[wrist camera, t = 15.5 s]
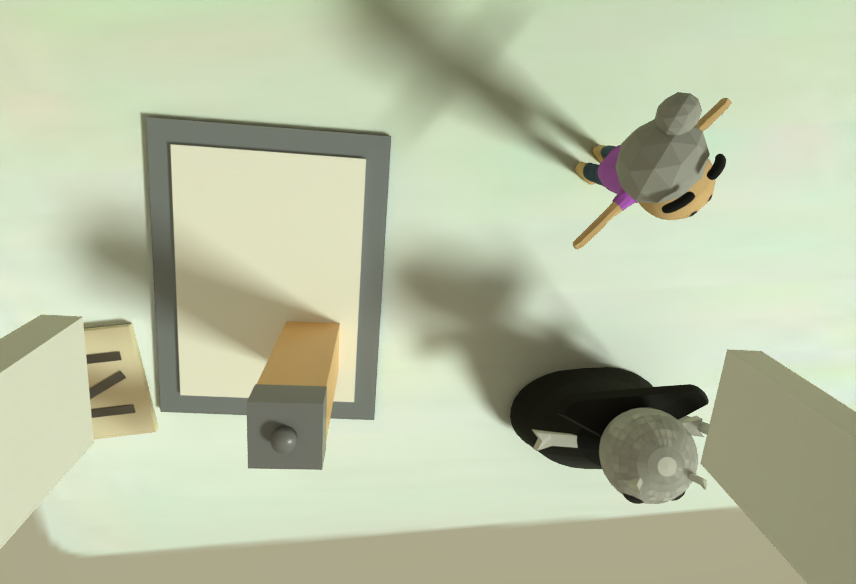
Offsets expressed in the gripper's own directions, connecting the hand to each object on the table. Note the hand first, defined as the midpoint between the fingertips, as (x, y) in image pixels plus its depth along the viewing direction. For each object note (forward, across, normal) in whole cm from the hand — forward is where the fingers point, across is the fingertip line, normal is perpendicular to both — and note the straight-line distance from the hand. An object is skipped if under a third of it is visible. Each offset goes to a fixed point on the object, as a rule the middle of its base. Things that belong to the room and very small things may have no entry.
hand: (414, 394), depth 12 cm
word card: (+29, -19, -14) cm, 37 cm away
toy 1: (+29, +12, +4) cm, 32 cm away
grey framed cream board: (+29, -8, -6) cm, 30 cm away
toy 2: (+29, +15, -13) cm, 35 cm away
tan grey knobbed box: (+28, -5, -10) cm, 30 cm away
